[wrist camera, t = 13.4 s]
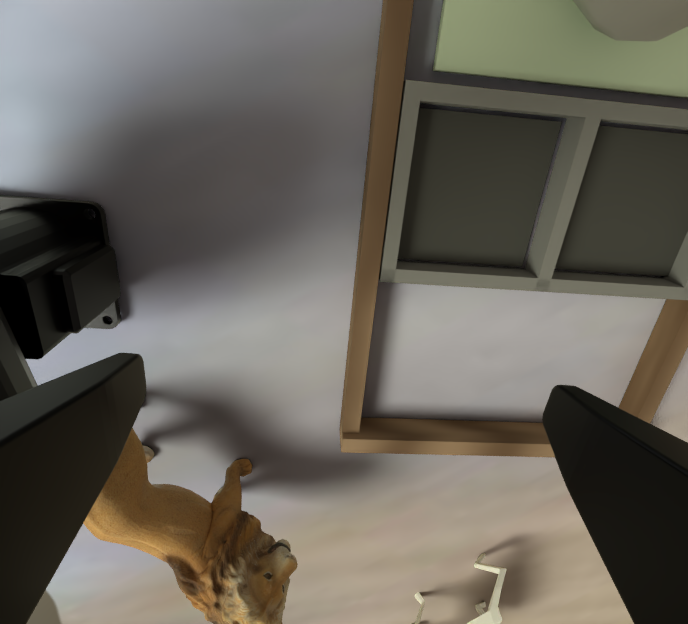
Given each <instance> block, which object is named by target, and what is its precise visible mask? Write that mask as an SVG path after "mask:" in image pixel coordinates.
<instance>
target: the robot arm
mask: <svg viewBox="0 0 688 624" xmlns="http://www.w3.org/2000/svg"><path fill="white" fill-rule="evenodd" d="M88 209H92V210H93V211H94V212H95V218H94V217H91V216H90V215H89V213H88ZM120 296H121V290H120V284H119V277H118V270H117V264H116V257H115V251H114V249H113V248H112V247H111V246H110V243H109V237H108V230H107V224H106V217H105V212H104V209H103V208H102V207H101V205H99V204H98V203H95V202H90V201H76V200H63V199H49V198H35V197H22V196H8V195H0V624H26V623H27V622H28V620H29V618H30V616H31V614H32V613H33V611H34V609H35V607H36V606H37V604H38V602H39V600H40V598H41V597H42V595H43V593H44V591H45V590H46V588H47V586H48V584H49V583H50V581H51V579H52V577H53V575H54V574H55V572H56V570H57V568H58V567H59V565H60V563H61V561H62V560H63V558H64V556H65V554H66V552H67V551H68V549H69V547H70V545H71V544H72V542H73V540H74V538H75V537H76V535H77V533H78V531H79V529H80V528H81V526H82V524H83V522H84V521H85V519H86V517H87V515H88V514H89V512H90V510H91V508H92V506H93V505H94V503H95V501H96V499H97V498H98V496H99V494H100V492H101V491H102V489H103V487H104V485H105V483H106V482H107V480H108V478H109V476H110V475H111V473H112V471H113V469H114V467H115V465H116V464H117V462H118V460H119V457H120V455H121V453H122V451H123V448H124V446H125V444H126V441H127V439H128V437H129V434H130V432H131V430H132V427H133V425H134V422H135V420H136V418H137V415H138V413H139V411H140V408H141V406H142V404H143V401H144V399H145V395H146V379H145V371H144V362H143V359H142V357H141V356H140V355H139V354H132V353H118V354H116V355H113V356H111V357H108V358H106V359H103V360H101V361H98V362H96V363H93V364H91V365H88V366H86V367H83V368H81V369H78V370H76V371H73V372H71V373H68V374H66V375H64V376H61V377H59V378H56V379H54V380H51V381H49V382H46V383H44V384H41V385H39V386H38V385H37V383H36V381H35V379H34V377H33V375H32V373H31V370H30V368H29V366H28V364H27V362H26V360H25V359H40V358H42V357H43V356H44V355H46V354H47V353H48V352H49V351H50V350H52V349H53V348H54V347H55V346H56V345H57V344H59V343H60V342H61V341H62V340H63V339H65V338H66V337H67V336H68V335H69V334H71V333H79V332H80V331H81V330H82V329H83V328H101V329H112V328H114V327H116V326H117V325H118V324H119V323H120V321H121V315H120V308H119V302H118V298H119V297H120ZM106 316H109V317H111V318H112V320H113V321H109V320H108V319H107V318H106ZM542 421H543V426H544V429H545V431H546V434H547V437H548V439H549V442H550V445H551V447H552V450H553V453H554V455H555V458H556V461H557V463H558V466H559V469H560V471H561V474H562V477H563V479H564V481H565V484H566V486H567V488H568V491H569V493H570V495H571V497H572V499H573V501H574V503H575V505H576V507H577V509H578V511H579V513H580V515H581V517H582V519H583V521H584V523H585V525H586V527H587V529H588V531H589V533H590V536H591V538H592V540H593V542H594V544H595V546H596V548H597V550H598V552H599V554H600V556H601V558H602V560H603V562H604V564H605V566H606V568H607V570H608V572H609V574H610V576H611V578H612V580H613V582H614V584H615V586H616V588H617V590H618V592H619V594H620V596H621V598H622V600H623V602H624V604H625V606H626V608H627V610H628V612H629V614H630V616H631V618H632V620H633V622H634V624H688V443H687V442H685V441H683V440H681V439H679V438H677V437H675V436H673V435H671V434H669V433H667V432H665V431H663V430H661V429H659V428H657V427H655V426H653V425H651V424H649V423H647V422H645V421H643V420H642V419H640V418H638V417H636V416H634V415H632V414H630V413H628V412H626V411H624V410H622V409H620V408H618V407H616V406H614V405H612V404H610V403H608V402H606V401H604V400H602V399H600V398H598V397H596V396H594V395H592V394H590V393H588V392H586V391H584V390H582V389H580V388H578V387H576V386H570V385H557V386H555V387H554V388H553V389H552V391H551V394H550V397H549V399H548V402H547V405H546V407H545V410H544V413H543V418H542Z"/></svg>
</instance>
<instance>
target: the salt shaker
mask: <svg viewBox="0 0 688 624" xmlns="http://www.w3.org/2000/svg"><path fill="white" fill-rule="evenodd" d="M573 1H574V3H575V4H576V5H577V7H578V8H579V9H580V11H581V12H582V13H583V14H584V16H585V17H586V18H587V20H588V21H589V22H590V24H591V25H592V26H593V28H594V29H595V30H597V31H599V32H601V33H603V34H605V35H607V36H608V37H610V38H612V39H614V40H616V41H658V40H660V39H662V38H665V37H667V36H669V35H671V34H673V33H675V32H677V31H679V30H681V29H683V28H685V27H687V26H688V0H573Z"/></svg>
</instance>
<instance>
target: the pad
mask: <svg viewBox="0 0 688 624" xmlns="http://www.w3.org/2000/svg"><path fill="white" fill-rule="evenodd" d="M433 71H437V72H447V73H456V74H465V75H475V76H484V77H493V78H502V79H512V80H521V81H530V82H540V83H549V84H558V85H567V86H577V87H586V88H595V89H605V90H614V91H623V92H633V93H642V94H651V95H660V96H670V97H679V98H688V26H687V27H685V28H683V29H681V30H679V31H677V32H675V33H673V34H671V35H669V36H667V37H665V38H662V39H660V40H658V41H616V40H614V39H612V38H610V37H608V36H607V35H605V34H603V33H601V32H599V31H597V30H595V29H594V28H593V26H592V25H591V24H590V22H589V21H588V20H587V18H586V17H585V16H584V14H583V13H582V12H581V11H580V9H579V8H578V7H577V5H576V4H575V3H574V1H573V0H443V6H442V12H441V19H440V26H439V32H438V39H437V46H436V52H435V59H434V65H433Z"/></svg>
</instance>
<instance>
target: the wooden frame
mask: <svg viewBox="0 0 688 624" xmlns="http://www.w3.org/2000/svg"><path fill="white" fill-rule="evenodd" d="M413 2H414V0H383V5H382V15H381V25H380V35H379V45H378V55H377V65H376V75H375V84H374V94H373V104H372V114H371V124H370V134H369V144H368V153H367V163H366V173H365V183H364V193H363V203H362V213H361V223H360V232H359V242H358V252H357V262H356V272H355V282H354V292H353V302H352V311H351V321H350V331H349V341H348V351H347V361H346V371H345V380H344V390H343V400H342V410H341V420H340V443H341V452H350V453H394V454H438V455H481V456H525V457H555V455H554V453H553V450H552V447H551V445H550V442H549V439H548V437H547V434H546V431H545V429H544V426H543V423H530V422H497V421H464V420H431V419H399V418H366V417H361V413H362V405H363V397H364V389H365V381H366V374H367V366H368V358H369V350H370V342H371V334H372V326H373V318H374V310H375V302H376V295H377V287H378V279H379V271H380V263H381V255H382V247H383V239H384V231H385V223H386V215H387V208H388V200H389V192H390V184H391V176H392V168H393V160H394V152H395V144H396V136H397V129H398V121H399V113H400V105H401V97H402V89H403V81H404V73H405V65H406V57H407V50H408V42H409V34H410V26H411V18H412V10H413ZM687 347H688V300H674V299H667V300H666V302H665V304H664V306H663V309H662V311H661V313H660V315H659V318H658V320H657V322H656V324H655V327H654V329H653V331H652V333H651V336H650V338H649V340H648V342H647V345H646V347H645V349H644V351H643V354H642V356H641V358H640V361H639V363H638V365H637V367H636V370H635V372H634V374H633V376H632V379H631V381H630V383H629V385H628V388H627V390H626V392H625V394H624V397H623V399H622V401H621V403H620V406H619V408H620V409H622V410H624V411H626V412H628V413H630V414H632V415H634V416H636V417H638V418H640V419H642V420H643V421H645V422H647V423H649V424H650V422H651V420H652V418H653V416H654V414H655V412H656V410H657V408H658V406H659V404H660V402H661V400H662V398H663V396H664V394H665V392H666V390H667V388H668V386H669V384H670V382H671V380H672V378H673V376H674V374H675V372H676V369H677V367H678V365H679V363H680V361H681V359H682V357H683V355H684V353H685V351H686V349H687Z"/></svg>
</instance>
